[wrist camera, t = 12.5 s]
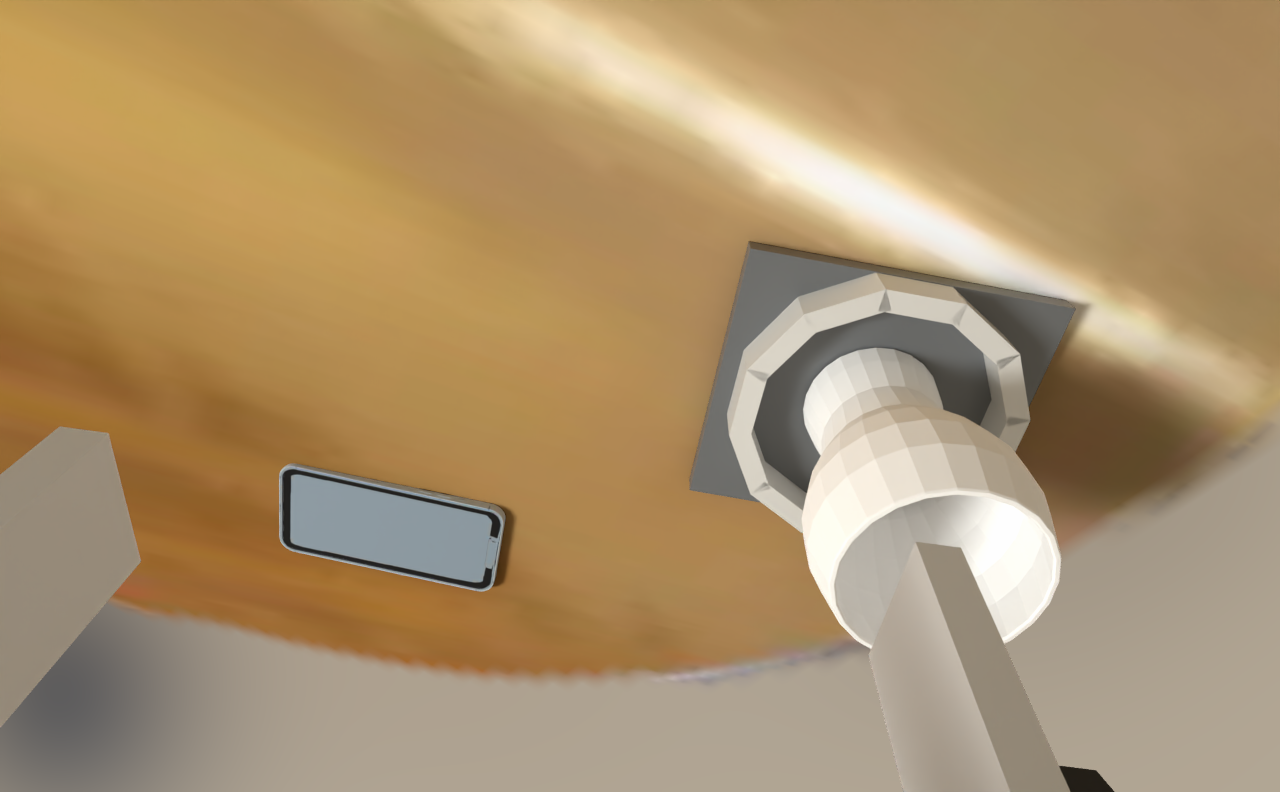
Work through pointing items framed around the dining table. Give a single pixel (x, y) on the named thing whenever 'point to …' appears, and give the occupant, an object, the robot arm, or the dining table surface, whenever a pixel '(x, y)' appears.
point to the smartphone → (390, 527)
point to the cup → (916, 496)
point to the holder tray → (843, 323)
